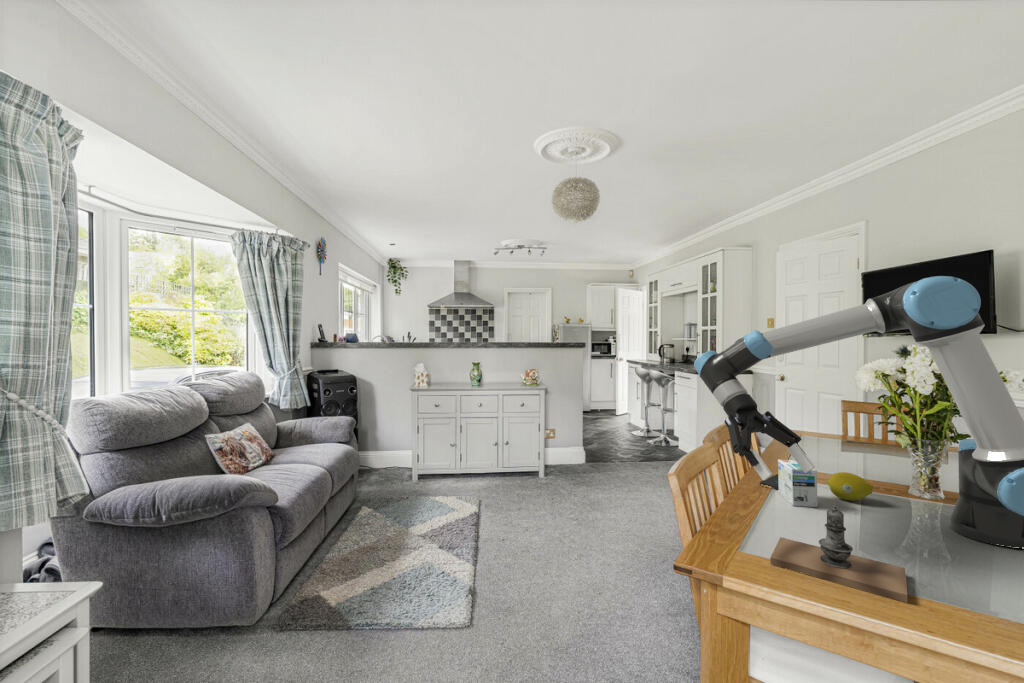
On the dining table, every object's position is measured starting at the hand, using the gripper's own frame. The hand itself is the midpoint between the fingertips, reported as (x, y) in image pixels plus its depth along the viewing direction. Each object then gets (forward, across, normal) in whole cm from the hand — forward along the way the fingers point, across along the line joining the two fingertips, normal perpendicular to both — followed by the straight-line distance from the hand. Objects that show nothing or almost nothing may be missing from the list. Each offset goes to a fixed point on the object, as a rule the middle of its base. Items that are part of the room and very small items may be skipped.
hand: (789, 473), depth 101 cm
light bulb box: (-2, -29, -27) cm, 39 cm away
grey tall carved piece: (+18, 0, -4) cm, 19 cm away
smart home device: (-10, -40, -36) cm, 55 cm away
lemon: (+2, -43, -22) cm, 48 cm away
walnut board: (+19, 0, -5) cm, 20 cm away
